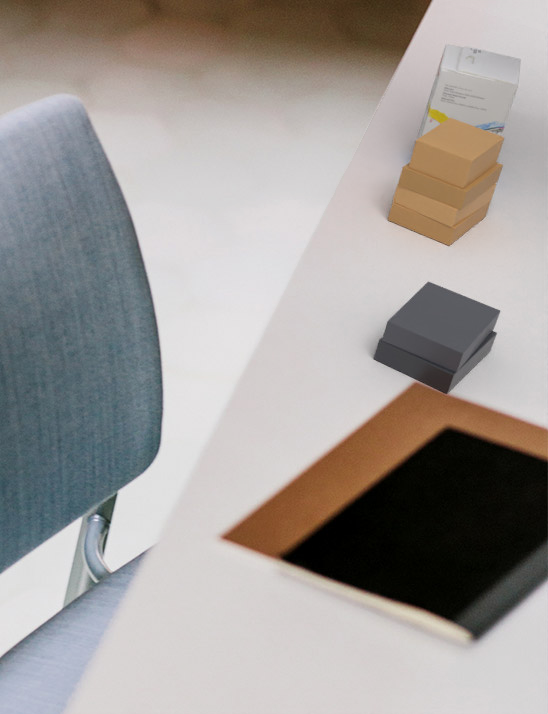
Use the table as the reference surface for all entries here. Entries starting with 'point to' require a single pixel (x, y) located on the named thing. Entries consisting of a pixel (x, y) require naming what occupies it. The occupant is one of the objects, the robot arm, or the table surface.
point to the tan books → (441, 204)
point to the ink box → (472, 89)
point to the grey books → (438, 337)
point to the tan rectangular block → (456, 152)
